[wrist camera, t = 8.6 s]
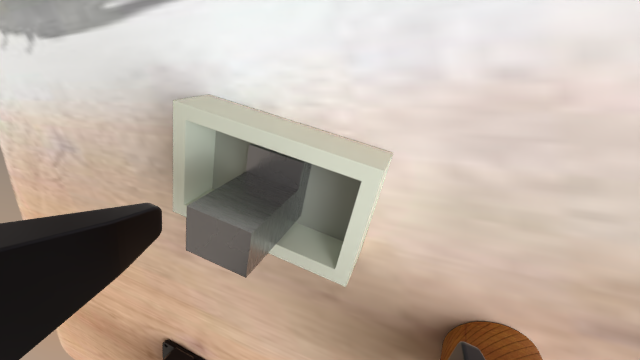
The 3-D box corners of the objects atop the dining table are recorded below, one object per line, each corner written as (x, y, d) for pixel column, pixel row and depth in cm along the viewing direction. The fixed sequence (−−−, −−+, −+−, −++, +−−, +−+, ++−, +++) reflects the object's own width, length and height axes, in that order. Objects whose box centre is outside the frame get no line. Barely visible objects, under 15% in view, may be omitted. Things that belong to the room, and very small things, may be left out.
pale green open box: (358, 256, 23) (345, 287, 20) (204, 193, 26) (172, 211, 23) (393, 153, 20) (384, 170, 16) (209, 94, 23) (173, 100, 20)
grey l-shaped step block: (301, 215, 23) (246, 277, 17) (255, 198, 24) (185, 250, 18) (313, 155, 21) (256, 198, 15) (262, 138, 22) (187, 172, 16)
